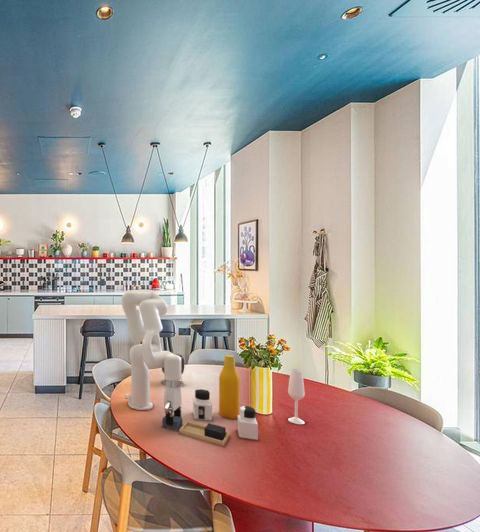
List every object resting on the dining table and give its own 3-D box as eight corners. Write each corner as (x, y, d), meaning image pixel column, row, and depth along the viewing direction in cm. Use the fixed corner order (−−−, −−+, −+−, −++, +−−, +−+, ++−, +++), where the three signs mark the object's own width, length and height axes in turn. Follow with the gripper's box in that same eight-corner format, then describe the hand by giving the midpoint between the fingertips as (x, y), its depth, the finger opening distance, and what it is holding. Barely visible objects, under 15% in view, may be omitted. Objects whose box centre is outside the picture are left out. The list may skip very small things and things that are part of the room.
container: (212, 421, 161) (212, 393, 161) (194, 419, 162) (194, 392, 162) (209, 414, 168) (209, 388, 168) (192, 413, 170) (192, 386, 170)
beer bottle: (226, 420, 162) (227, 358, 162) (215, 412, 171) (215, 353, 171) (243, 418, 164) (244, 357, 164) (231, 410, 173) (231, 352, 173)
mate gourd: (169, 378, 223) (169, 347, 223) (188, 383, 212) (188, 351, 212) (155, 383, 212) (155, 351, 212) (174, 389, 202) (175, 355, 202)
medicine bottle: (255, 433, 150) (255, 405, 150) (257, 441, 143) (258, 412, 143) (237, 430, 152) (237, 403, 152) (239, 438, 145) (239, 409, 145)
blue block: (162, 427, 155) (162, 418, 155) (167, 422, 160) (167, 413, 160) (177, 431, 151) (177, 422, 151) (182, 426, 156) (182, 417, 156)
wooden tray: (179, 434, 149) (179, 429, 149) (186, 425, 156) (186, 421, 156) (223, 447, 138) (223, 441, 138) (229, 437, 146) (229, 432, 146)
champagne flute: (307, 425, 158) (307, 372, 158) (291, 423, 159) (291, 371, 159) (301, 418, 164) (301, 368, 164) (285, 417, 166) (285, 367, 166)
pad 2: (204, 437, 144) (204, 428, 144) (208, 432, 149) (208, 423, 149) (222, 442, 140) (222, 433, 140) (225, 437, 145) (225, 427, 145)
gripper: (171, 376, 164) (172, 413, 164) (157, 386, 150) (158, 426, 150) (187, 379, 160) (188, 416, 159) (174, 389, 146) (174, 430, 145)
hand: (173, 421), depth 155 cm, fingers open, 9 cm apart
